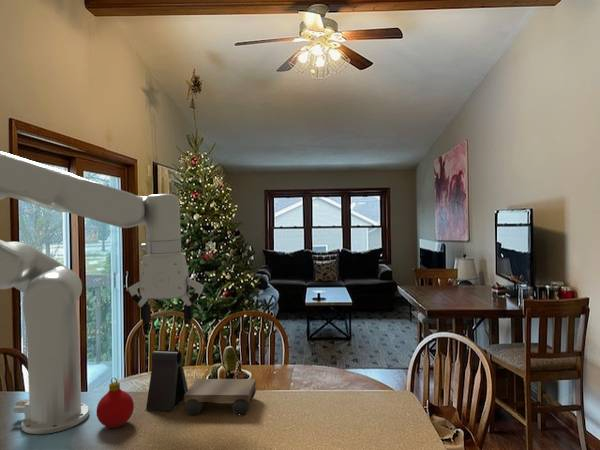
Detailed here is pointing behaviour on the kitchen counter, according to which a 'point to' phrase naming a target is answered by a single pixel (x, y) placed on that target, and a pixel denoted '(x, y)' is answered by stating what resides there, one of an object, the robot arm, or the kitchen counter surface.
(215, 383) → the trolley
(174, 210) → the robot arm
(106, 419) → the christmas ornament
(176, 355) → the phone stand
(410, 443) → the kitchen counter surface
